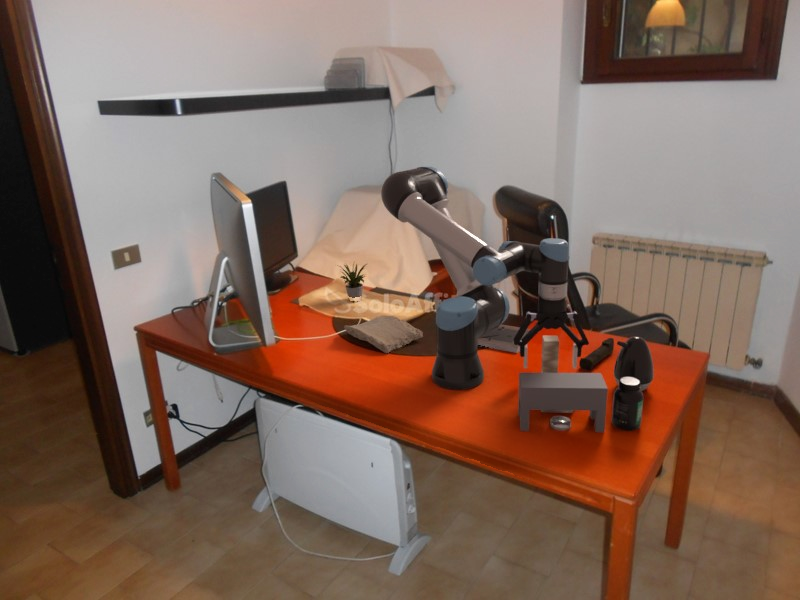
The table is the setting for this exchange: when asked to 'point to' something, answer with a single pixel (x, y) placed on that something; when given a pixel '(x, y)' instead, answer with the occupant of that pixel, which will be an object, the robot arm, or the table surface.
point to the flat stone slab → (385, 332)
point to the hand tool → (597, 355)
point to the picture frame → (501, 338)
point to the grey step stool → (562, 395)
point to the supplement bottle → (627, 404)
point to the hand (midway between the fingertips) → (549, 366)
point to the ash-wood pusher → (551, 361)
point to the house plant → (353, 281)
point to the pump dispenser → (634, 361)
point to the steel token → (560, 423)
